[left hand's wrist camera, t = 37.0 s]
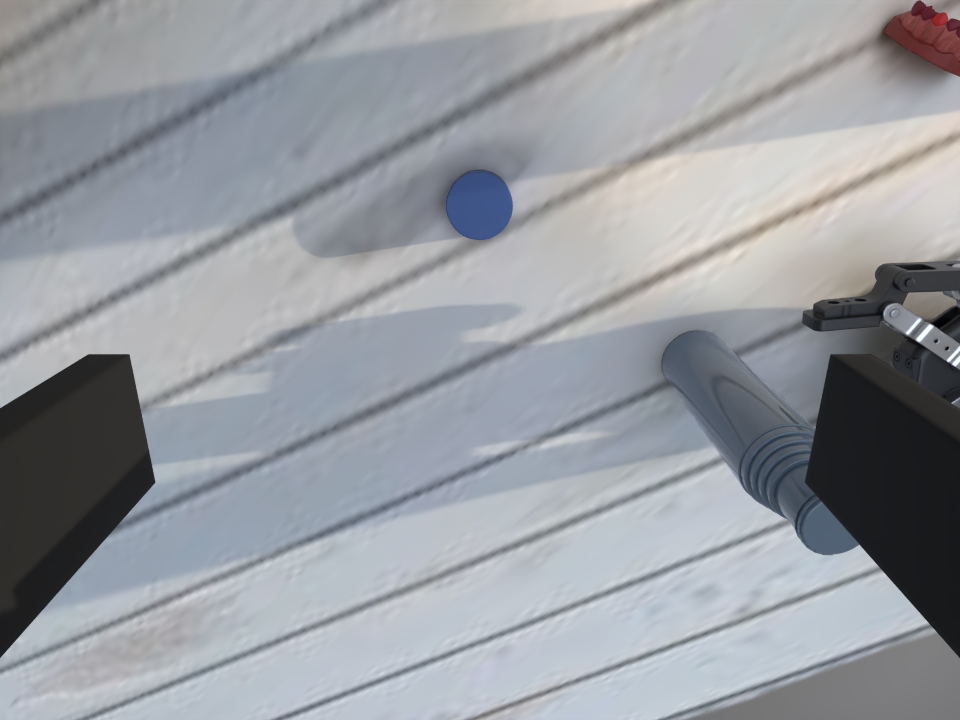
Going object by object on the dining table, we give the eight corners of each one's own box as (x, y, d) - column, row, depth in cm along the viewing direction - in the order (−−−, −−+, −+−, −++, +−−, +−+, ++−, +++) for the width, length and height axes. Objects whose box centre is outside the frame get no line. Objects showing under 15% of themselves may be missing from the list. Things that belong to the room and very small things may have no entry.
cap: (506, 238, 45) (507, 243, 43) (444, 230, 44) (442, 235, 42) (515, 174, 43) (517, 177, 41) (451, 165, 43) (450, 168, 41)
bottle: (666, 328, 47) (796, 476, 28) (732, 331, 47) (905, 481, 28) (657, 389, 49) (773, 568, 29) (720, 392, 49) (876, 572, 29)
